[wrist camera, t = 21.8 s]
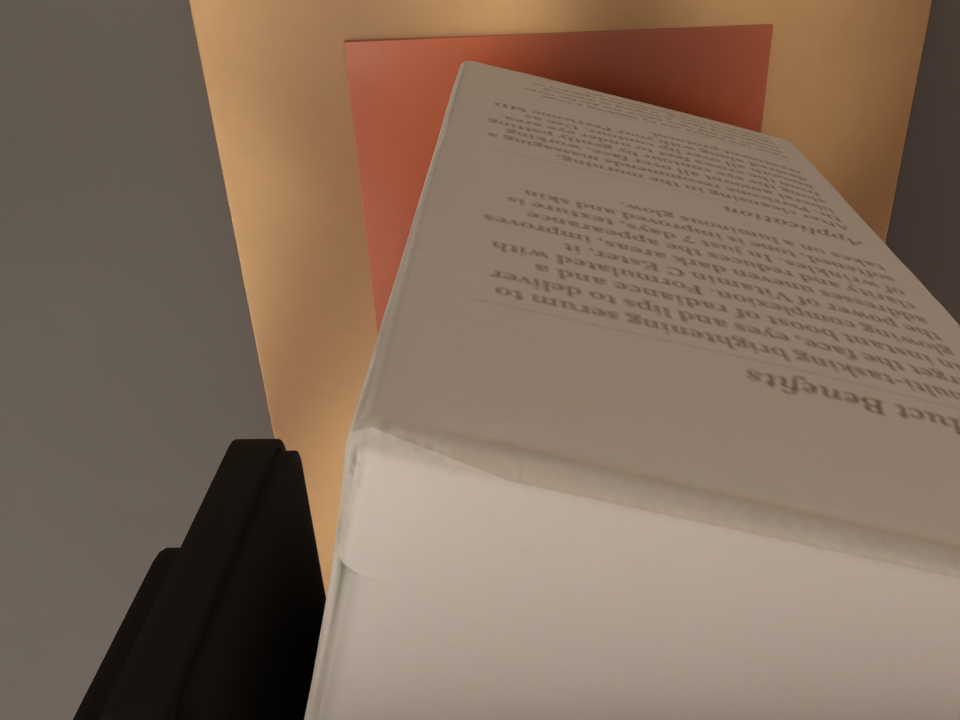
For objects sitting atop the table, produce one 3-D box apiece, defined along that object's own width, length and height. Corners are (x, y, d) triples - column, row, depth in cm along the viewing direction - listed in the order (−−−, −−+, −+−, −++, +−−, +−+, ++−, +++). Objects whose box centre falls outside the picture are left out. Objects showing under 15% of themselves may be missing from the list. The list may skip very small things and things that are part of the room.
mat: (936, -89, 14) (952, -86, 14) (782, 742, 24) (787, 762, 24) (188, -55, 15) (176, -51, 14) (338, 740, 25) (334, 759, 24)
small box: (642, 511, 18) (761, 1173, 9) (371, 453, 18) (217, 1090, 9) (802, 131, 14) (1283, 639, 5) (459, 43, 14) (343, 438, 5)
